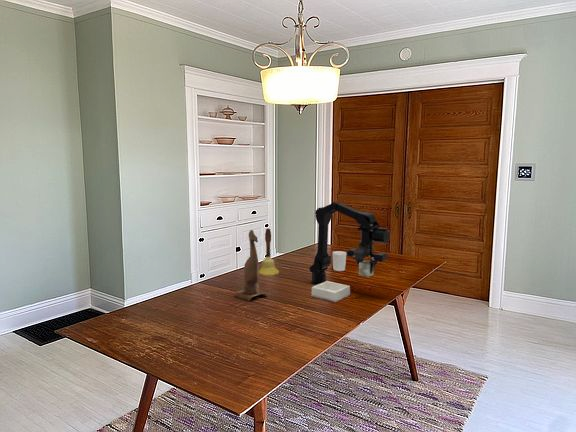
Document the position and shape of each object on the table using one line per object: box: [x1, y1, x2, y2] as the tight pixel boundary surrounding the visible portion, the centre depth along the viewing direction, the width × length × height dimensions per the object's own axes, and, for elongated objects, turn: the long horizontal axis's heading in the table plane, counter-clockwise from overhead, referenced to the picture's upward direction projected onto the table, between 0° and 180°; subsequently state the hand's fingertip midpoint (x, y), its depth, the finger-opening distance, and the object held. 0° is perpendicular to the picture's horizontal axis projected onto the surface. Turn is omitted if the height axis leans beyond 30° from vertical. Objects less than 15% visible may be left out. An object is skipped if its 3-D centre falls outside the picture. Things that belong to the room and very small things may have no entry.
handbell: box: [259, 228, 280, 276], centre depth 242 cm, size 12×12×25 cm
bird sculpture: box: [234, 229, 269, 303], centre depth 201 cm, size 11×12×32 cm
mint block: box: [358, 260, 374, 278], centre depth 205 cm, size 5×5×6 cm
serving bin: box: [311, 280, 351, 303], centre depth 204 cm, size 13×13×4 cm
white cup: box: [332, 250, 347, 272], centre depth 249 cm, size 8×8×10 cm
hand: (366, 272), depth 206 cm, fingers closed on mint block, 5 cm apart
